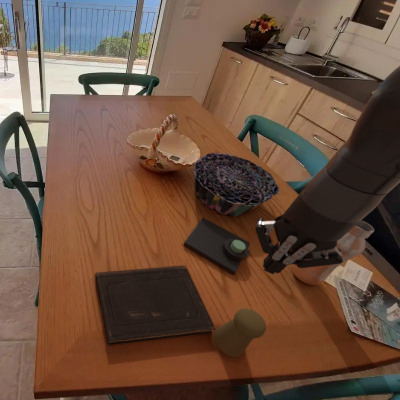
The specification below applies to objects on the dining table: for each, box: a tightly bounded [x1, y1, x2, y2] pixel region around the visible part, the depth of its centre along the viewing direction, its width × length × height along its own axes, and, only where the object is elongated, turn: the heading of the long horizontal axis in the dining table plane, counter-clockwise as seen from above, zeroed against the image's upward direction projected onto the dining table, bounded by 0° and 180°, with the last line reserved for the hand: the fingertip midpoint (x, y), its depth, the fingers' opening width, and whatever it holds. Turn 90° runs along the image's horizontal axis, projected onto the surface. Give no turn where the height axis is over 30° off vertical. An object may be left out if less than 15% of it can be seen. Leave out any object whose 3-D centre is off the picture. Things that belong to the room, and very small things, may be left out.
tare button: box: [230, 240, 246, 253], centre depth 71 cm, size 3×3×2 cm
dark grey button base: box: [182, 217, 251, 276], centre depth 75 cm, size 15×13×3 cm
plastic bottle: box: [292, 219, 375, 286], centre depth 63 cm, size 6×7×20 cm
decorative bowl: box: [192, 152, 281, 217], centre depth 89 cm, size 26×28×10 cm
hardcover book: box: [94, 265, 217, 346], centre depth 61 cm, size 16×23×2 cm
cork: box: [213, 308, 267, 358], centre depth 53 cm, size 6×6×11 cm
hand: (268, 269), depth 50 cm, fingers closed
